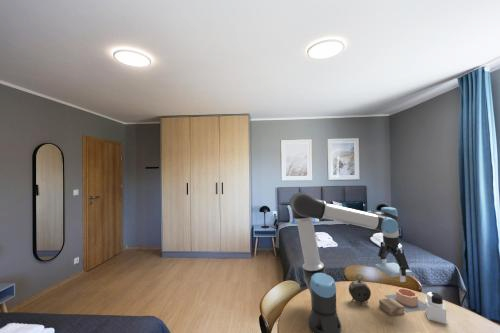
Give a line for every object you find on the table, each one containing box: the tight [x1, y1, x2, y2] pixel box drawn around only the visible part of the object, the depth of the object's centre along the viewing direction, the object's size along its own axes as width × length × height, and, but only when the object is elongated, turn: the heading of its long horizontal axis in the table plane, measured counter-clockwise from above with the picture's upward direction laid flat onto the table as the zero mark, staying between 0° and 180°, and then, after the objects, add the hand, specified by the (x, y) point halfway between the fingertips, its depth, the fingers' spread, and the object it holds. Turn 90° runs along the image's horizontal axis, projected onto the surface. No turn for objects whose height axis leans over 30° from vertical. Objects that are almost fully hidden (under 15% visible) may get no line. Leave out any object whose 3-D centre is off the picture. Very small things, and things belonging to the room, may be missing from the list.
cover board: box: [374, 262, 413, 278], centre depth 119 cm, size 12×12×2 cm
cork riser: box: [378, 298, 405, 316], centre depth 117 cm, size 8×8×4 cm
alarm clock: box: [348, 274, 372, 306], centre depth 125 cm, size 11×5×16 cm, turn 83°
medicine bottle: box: [424, 291, 448, 325], centre depth 110 cm, size 7×7×12 cm
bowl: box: [395, 287, 419, 307], centre depth 124 cm, size 10×10×5 cm
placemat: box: [384, 293, 426, 313], centre depth 124 cm, size 16×16×1 cm
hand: (393, 275), depth 118 cm, fingers closed on cover board, 12 cm apart
